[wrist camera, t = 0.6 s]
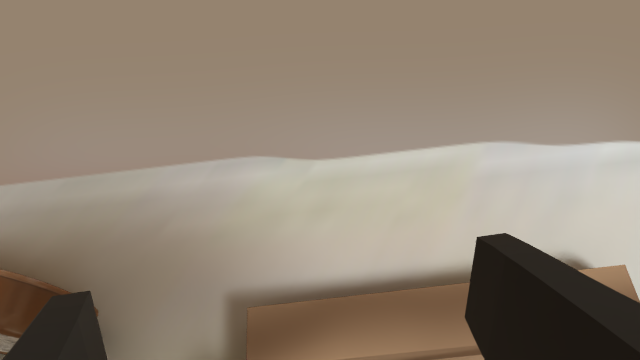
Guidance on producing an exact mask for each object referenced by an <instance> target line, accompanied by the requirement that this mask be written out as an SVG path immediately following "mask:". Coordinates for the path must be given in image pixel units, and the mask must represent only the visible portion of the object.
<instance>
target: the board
mask: <svg viewBox="0 0 640 360" xmlns="http://www.w3.org/2000/svg"><path fill="white" fill-rule="evenodd" d="M578 271H579V272H581V273H583V274H585V275H587V276H589V277H591V278H592V279H594V280H596V281H598V282H600V283H602V284H604V285H606V286H608V287H610V288H611V289H613V290H615V291H617V292H619V293H621V294H623V295H625V296H627V297H629V298H631V299H633V300H635V301H637V302H639V303H640V301H639V298H638V296H637V293H636V291H635V288H634V286H633V284H632V281H631V279H630V276H629V274H628V271H627V269H626V266H625V265H619V266H610V267H601V268H592V269H583V270H578ZM469 285H470V282H469V283H460V284H451V285H443V286H434V287H425V288H416V289H407V290H399V291H390V292H381V293H372V294H363V295H355V296H346V297H337V298H328V299H319V300H311V301H302V302H293V303H284V304H275V305H267V306H258V307H249V308H247V352H246V360H484V358H483V356H482V354H481V352H480V350H479V348H478V346H477V344H476V342H475V339H474V337H473V335H472V333H471V331H470V328H469V326H468V324H467V322H466V319H465V311H466V304H467V298H468V292H469Z"/></svg>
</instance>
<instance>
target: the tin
mask: <svg viewBox="0 0 640 360" xmlns="http://www.w3.org/2000/svg"><path fill="white" fill-rule="evenodd" d="M64 294H71V293H70V292H68V291H65V290H63V289H60V288H58V287H56V286H53V285H50V284H48V283H45V282H42V281H39V280H37V279H33V278H30V277H27V276H24V275H20V274H17V273H13V272H9V271H5V270H2V269H0V353H1V354H7V353H8V352H9V351H10V349H11V348H12V347H13V345H14V344H15V343H16V342H17V340H18V339H19V338H20V336H21V335H22V334H23V332H24V331H25V330H26V329H27V327H28V326H29V325H30V323H31V322H32V321H33V319H34V318H35V317H36V315H37V314H38V313H39V312H40V310H41V309H42V308H43V306H44V305H45V304H46V303H47V302H48V300H49V299H50V298H51V297H52V296H57V295H64ZM94 308H95V307H94ZM95 312H96V316H98V310H97V309H96V308H95Z"/></svg>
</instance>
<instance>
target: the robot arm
mask: <svg viewBox="0 0 640 360" xmlns="http://www.w3.org/2000/svg"><path fill="white" fill-rule="evenodd" d="M465 319H466V322H467V324H468V326H469V328H470V331H471V333H472V335H473V337H474V339H475V342H476V344H477V346H478V348H479V350H480V352H481V354H482V356H483V358H484V360H640V303H639V302H637V301H635V300H633V299H631V298H629V297H627V296H625V295H623V294H621V293H619V292H617V291H615V290H613V289H611V288H610V287H608V286H606V285H604V284H602V283H600V282H598V281H596V280H594V279H592V278H591V277H589V276H587V275H585V274H583V273H581V272H579V271H578V270H576V269H574V268H572V267H570V266H568V265H566V264H565V263H563V262H561V261H559V260H557V259H555V258H554V257H552V256H550V255H548V254H546V253H544V252H542V251H541V250H539V249H537V248H535V247H533V246H531V245H529V244H527V243H525V242H523V241H521V240H519V239H517V238H515V237H513V236H511V235H509V234H506V233H503V234H495V235H488V236H481V237H477V240H476V247H475V253H474V260H473V266H472V272H471V279H470V285H469V292H468V298H467V304H466V311H465ZM2 360H107V356H106V352H105V348H104V344H103V340H102V336H101V332H100V328H99V324H98V320H97V316H96V312H95V308H94V304H93V300H92V296H91V292H90V291H85V292H78V293H71V294H64V295H57V296H52V297H51V298H50V299H49V300H48V302H47V303H46V304H45V305H44V306H43V308H42V309H41V310H40V312H39V313H38V314H37V315H36V317H35V318H34V319H33V321H32V322H31V323H30V325H29V326H28V327H27V329H26V330H25V331H24V332H23V334H22V335H21V336H20V338H19V339H18V340H17V342H16V343H15V344H14V345H13V347H12V348H11V349H10V351H9V352H8V353H7V354H6V356H5V357H4V358H3V359H2Z"/></svg>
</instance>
